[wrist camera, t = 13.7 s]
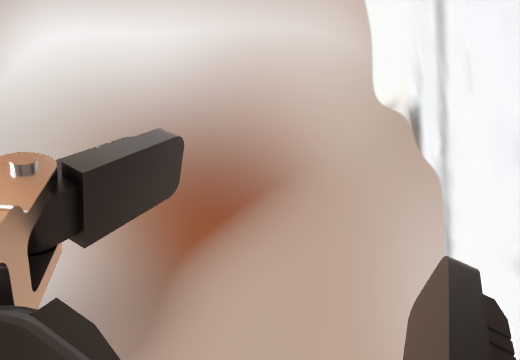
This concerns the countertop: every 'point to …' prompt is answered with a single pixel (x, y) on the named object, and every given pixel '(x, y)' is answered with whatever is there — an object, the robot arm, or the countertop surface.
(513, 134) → the countertop surface
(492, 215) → the countertop surface
